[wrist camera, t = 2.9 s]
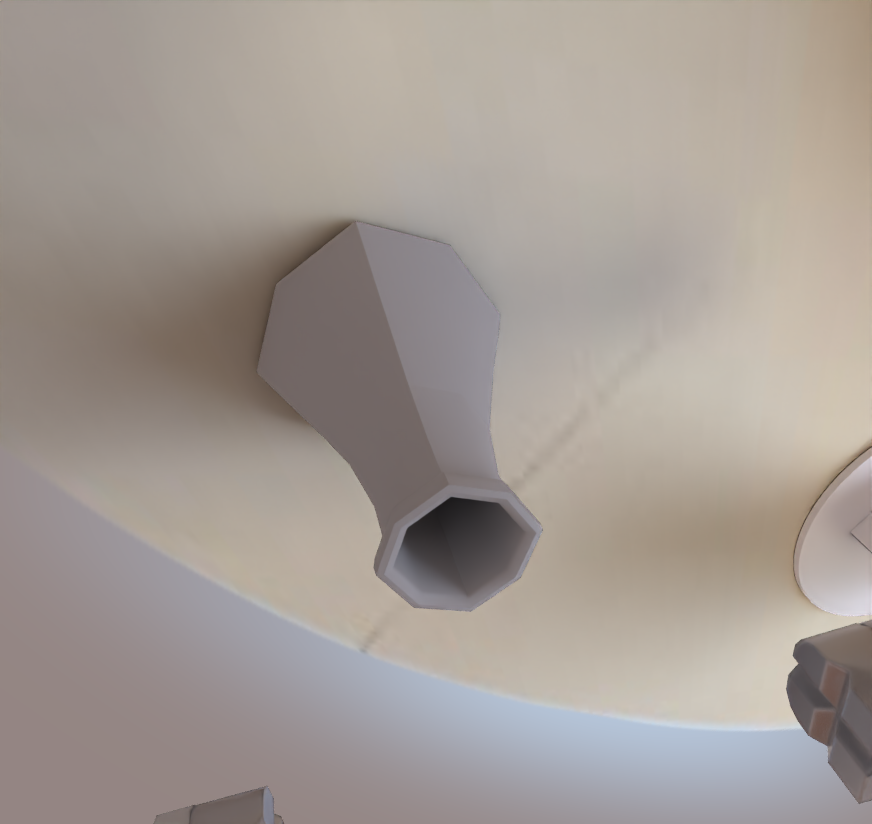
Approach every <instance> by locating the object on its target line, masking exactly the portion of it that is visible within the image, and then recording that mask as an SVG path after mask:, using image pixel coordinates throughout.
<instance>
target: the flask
mask: <svg viewBox="0 0 872 824" xmlns="http://www.w3.org/2000/svg"><path fill="white" fill-rule="evenodd" d="M499 327H500V313H499V312H498V310H497V309H496V308H495V306H494V305H493V304H492V302H491V301H490V299H489V298H488V297H487V295H486V294H485V293H484V291H483V290H482V288H481V287H480V286H479V284H478V283H477V281H476V280H475V279H474V277H473V276H472V275H471V273H470V272H469V270H468V269H467V268H466V266H465V265H464V264H463V262H462V261H461V259H460V258H459V257H458V255H457V254H456V252H455V251H454V250H453V248H452V247H451V246H450V245H448V244H444V243H440V242H436V241H432V240H428V239H425V238H421V237H417V236H413V235H409V234H405V233H401V232H397V231H393V230H389V229H386V228H382V227H378V226H374V225H370V224H366V223H362V222H358V221H355V222H353V223H352V224H351V225H350V226H348V227H347V228H346V229H344V230H343V231H342V232H341V233H339V234H338V235H337V236H336V237H334V238H333V239H332V240H331V241H329V242H328V243H327V244H326V245H324V246H323V247H322V248H321V249H319V250H318V251H317V252H316V253H314V254H313V255H312V256H311V257H309V258H308V259H307V260H306V261H304V262H303V263H302V264H300V265H299V266H298V267H297V268H295V269H294V270H293V271H292V272H290V273H289V274H288V275H287V276H285V277H284V278H283V279H282V280H280V281H279V282H278V283H277V284H276V288H275V292H274V296H273V301H272V305H271V310H270V314H269V319H268V323H267V327H266V332H265V336H264V341H263V345H262V350H261V354H260V359H259V363H258V367H257V373H258V374H259V375H260V376H261V377H262V378H263V379H264V380H265V381H266V382H267V383H268V384H269V385H270V386H271V387H272V388H273V389H274V390H275V391H276V392H277V393H278V394H279V395H280V396H281V397H282V398H283V399H284V400H285V401H286V402H287V403H288V404H289V405H290V406H291V407H293V408H294V409H295V410H296V411H297V412H298V413H299V414H300V415H301V416H302V417H303V418H304V419H305V420H306V421H307V422H308V423H309V424H310V425H311V426H312V427H313V428H314V429H315V430H316V431H317V432H318V433H320V434H321V435H322V436H323V437H324V438H325V439H326V440H327V441H328V442H329V443H330V444H331V446H332V447H333V448H334V449H335V450H336V451H337V452H338V453H339V454H340V455H341V456H342V457H343V458H344V459H345V460H346V461H347V462H348V463H349V464H350V466H351V468H352V469H353V471H354V473H355V475H356V476H357V478H358V480H359V481H360V483H361V485H362V486H363V488H364V490H365V492H366V493H367V495H368V497H369V498H370V500H371V502H372V503H373V505H374V507H375V511H376V514H377V518H378V521H379V525H380V528H381V532H382V539H381V542H380V545H379V548H378V550H377V553H376V556H375V560H374V570H375V573H376V576H378V577H379V578H380V579H381V580H382V581H383V582H385V583H386V584H387V585H388V586H389V587H390V588H392V589H393V590H394V591H395V592H396V593H397V594H399V595H400V596H401V597H402V598H403V599H404V600H406V601H407V602H408V603H409V604H410V605H411V606H413V607H414V608H426V609H440V610H455V611H469V612H471V611H473V610H474V609H475V608H477V607H478V606H480V605H481V604H483V603H484V602H486V601H487V600H489V599H490V598H492V597H493V596H495V595H496V594H497V593H499V592H500V591H502V590H503V589H505V588H506V587H508V586H509V585H511V584H512V583H514V582H515V581H517V580H518V579H520V578H521V576H522V573H523V571H524V569H525V567H526V565H527V563H528V561H529V559H530V556H531V554H532V552H533V550H534V548H535V546H536V544H537V541H538V539H539V537H540V535H541V533H542V531H543V529H542V526H541V524H540V522H539V521H538V520H537V519H536V518H535V516H534V515H533V514H532V513H531V512H530V511H529V510H528V508H527V507H526V506H525V505H524V504H523V503H522V502H521V500H520V499H519V498H518V497H517V496H516V495H515V493H514V492H513V491H512V490H511V489H510V488H509V487H508V485H507V484H505V483H504V482H503V481H502V480H501V478H500V476H499V474H498V469H497V464H496V459H495V454H494V449H493V444H492V438H491V433H490V414H491V400H492V385H493V371H494V364H495V357H496V349H497V342H498V335H499Z"/></svg>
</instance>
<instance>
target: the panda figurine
mask: <svg viewBox="0 0 872 824" xmlns="http://www.w3.org/2000/svg"><path fill="white" fill-rule="evenodd" d="M794 572H795V577H796V580H797V583H798V586H799V587H800V589H801V591H802V592H803V593H804V594H805V596H806V597H807V598H808V599H809V600H810V601H811V602H812V603H813V604H814V605H815V606H817V607H818V608H820V609H822V610H824V611H826V612H829V613H832V614H836V615H842V616H865V615H872V447H871V448H870V449H869V450H867V451H866V452H865V453H863V454H862V455H861V456H859V457H858V458H857V459H856V460H855V461H854V462H852V463H851V464H850V465H849V466H848V467H847V468H846V469H845V470H844V471H843V472H842V473H841V474H840V475H839V476H838V477H837V478H836V479H835V480H834V481H833V482H832V483H831V484H830V485H829V487H828V488H827V489H826V490H825V492H824V493H823V494H822V495H821V497H820V498H819V500H818V501H817V502H816V504H815V505H814V507H813V508H812V510H811V512H810V513H809V515H808V517H807V519H806V521H805V523H804V525H803V527H802V530H801V532H800V535H799V538H798V541H797V544H796V549H795V554H794Z"/></svg>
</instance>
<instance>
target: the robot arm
mask: <svg viewBox="0 0 872 824" xmlns="http://www.w3.org/2000/svg"><path fill="white" fill-rule="evenodd" d="M793 657H794V658H795V659H796V661H797V662H798V663H799V664H798V665H797V666H796V667H795V668H794V669H793V670H792V671H791V673H790V674H789V675H788V681H787V688H786V690H787V694H788V698H789V702H790V706H791V708H792V710H793V712H794V714H795V716H796V718H797V720H798V722H799V723H800V724H801V726H802V727H803V729H804V730H805V731H806V733H807V734H808V736H810V737H812V738H813V739H815V740H817V741H819V742H821V743H823V744H825V745H826V746H828V763H829V764H830V766H831V767H832V768H833V770H834V771H835V772H836V774H837V775H838V776H839V778H840V779H841V780H842V782H843V783H844V784H845V786H846V787H847V788H848V790H849V791H850V792H851V794H852V795H853V796H854V798H855V799H856V800H857V802H858V803H859V804H860V803H864V802H867V801H871V800H872V620H869V621H865V622H862V623H858V624H857V623H855V624H852V625H849V626H845V627H842V628H839V629H835V630H832V631H828V632H825V633H822V634H818V635H815V636H811V637H808V638H805V639H801V640H800V641H799V642H798V643H797V644H795V648H794V652H793ZM154 824H284V822H283V820H282V817H281V816H279V815H276V814H274V798H273V796H272V794H271V792H270V790H269V788H268V786H266V787H262V788H258V789H255V790H251V791H247V792H244V793H239V794H236V795H232V796H228V797H225V798H221V799H217V800H213V801H210V802H206V803H202V804H199V805H192V806H189V807H185V808H181V809H178V810H174V811H171V812H168V813H164V814H160V815H157V816H156V819H155V821H154Z"/></svg>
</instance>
